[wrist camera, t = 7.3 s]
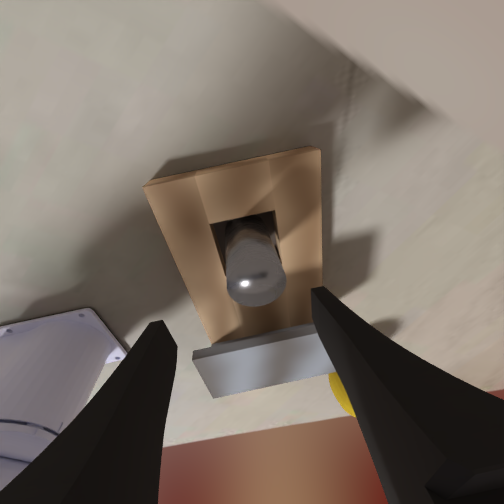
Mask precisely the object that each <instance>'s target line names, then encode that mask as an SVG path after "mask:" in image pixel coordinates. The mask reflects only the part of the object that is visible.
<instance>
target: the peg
mask: <svg viewBox="0 0 504 504" xmlns="http://www.w3.org/2000/svg"><path fill="white" fill-rule="evenodd" d="M225 254H226V283H227V291H228V294H229V296H230V297H231V298H232V299H233V300H234V301H235V302H237V303H239V304H241V305H244V306H249V307H258V306H263V305H266V304H269V303H271V302H273V301H274V300H276V299H277V298H278V297H279V296H280V295H281V294H282V293H283V291H284V289H285V287H286V282H287V279H286V275H285V272H284V269H283V267H282V264H281V262H280V259H279V257H278V254H277V252H276V250H275V247H274V245H273V242H272V240H271V237H270V235H269V232H268V230H267V227H266V225H265V222H264V221H263V219H262V218H261V217H259V216H258V215H256V214H254V215H249V216H245V217H240V218H235V219H231V220H229V221H228V223H227V225H226V227H225Z"/></svg>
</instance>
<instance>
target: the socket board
mask: <svg viewBox="0 0 504 504" xmlns="http://www.w3.org/2000/svg"><path fill="white" fill-rule="evenodd" d="M142 188H143V190H144V193H145V195H146V197H147V199H148V202H149V204H150V206H151V208H152V211H153V213H154V215H155V217H156V220H157V222H158V224H159V226H160V229H161V231H162V233H163V236H164V238H165V240H166V242H167V245H168V247H169V249H170V251H171V254H172V256H173V258H174V260H175V263H176V265H177V267H178V269H179V272H180V274H181V276H182V278H183V281H184V283H185V285H186V287H187V290H188V292H189V294H190V297H191V299H192V301H193V303H194V306H195V308H196V310H197V312H198V315H199V317H200V319H201V321H202V324H203V326H204V328H205V330H206V333H207V335H208V337H209V339H210V342H211V344H212V347H209V348H204V349H200V350H195V351H193V357H192V361H193V363H194V365H195V366H196V368H197V370H198V372H199V374H200V376H201V377H202V379H203V381H204V383H205V385H206V386H207V388H208V390H209V392H210V394H211V395H212V397H213V399H214V398H218V397H223V396H228V395H232V394H237V393H241V392H246V391H251V390H255V389H260V388H264V387H269V386H273V385H278V384H283V383H287V382H292V381H296V380H301V379H306V378H310V377H315V376H319V375H324V374H329V373H333V372H336V370H335V368H334V366H333V364H332V362H331V360H330V358H329V356H328V354H327V352H326V350H325V348H324V346H323V344H322V342H321V340H320V338H319V336H318V333H317V331H316V328H315V325H314V322H313V320H312V310H311V288H316V287H321V286H322V207H321V149H318V148H315V147H312V146H308V147H303V148H298V149H294V150H289V151H284V152H280V153H275V154H270V155H266V156H261V157H256V158H252V159H247V160H242V161H237V162H233V163H228V164H223V165H219V166H214V167H209V168H205V169H200V170H195V171H191V172H186V173H181V174H176V175H172V176H167V177H162V178H158V179H153V180H150V181H149V182H148V183H147V184H146V185H144V186H143V187H142ZM254 214H256V215H258V216H259V217H261V218H262V219H263V221H264V222H265V225H266V227H267V230H268V232H269V235H270V237H271V240H272V242H273V245H274V247H275V250H276V252H277V254H278V257H279V259H280V262H281V264H282V267H283V269H284V272H285V275H286V279H287V282H286V287H285V289H284V291H283V293H282V294H281V295H280V296H279V297H278V298H277V299H276V300H274V301H273V302H271V303H269V304H266V305H263V306H258V307H249V306H244V305H241V304H239V303H237V302H235V301H234V300H233V299H232V298H231V297H230V296H229V294H228V291H227V283H226V254H225V227H226V225H227V223H228V221H229V220H231V219H235V218H240V217H245V216H249V215H254Z"/></svg>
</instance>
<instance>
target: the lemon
mask: <svg viewBox="0 0 504 504" xmlns="http://www.w3.org/2000/svg"><path fill="white" fill-rule="evenodd" d="M329 382H330V386H331V389H332V391H333V393H334V395H335V397H336V399H337V400H338V402H339V403H340V405H341V406H342V408H343V409H344V410H345V411H346V412H347V413H349V414H350V415H352V416H354V417H356V415H355V413H354V410H353V408H352V405H351V403H350V400H349V398H348V395H347V393H346V391H345V389H344V386H343V384H342V382H341V380H340V378H339V376H338V374H337V372H333V373H329Z"/></svg>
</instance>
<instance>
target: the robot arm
mask: <svg viewBox="0 0 504 504" xmlns="http://www.w3.org/2000/svg"><path fill="white" fill-rule="evenodd" d="M311 310H312V320H313V322H314V325H315V328H316V331H317V333H318V336H319V338H320V340H321V342H322V344H323V346H324V348H325V350H326V352H327V354H328V356H329V358H330V360H331V362H332V364H333V366H334V368H335V370H336V372H337V374H338V376H339V378H340V380H341V382H342V384H343V386H344V389H345V391H346V393H347V395H348V398H349V400H350V403H351V405H352V408H353V410H354V413H355V415H356V418H357V420H358V423H359V425H360V428H361V431H362V433H363V436H364V438H365V441H366V443H367V446H368V449H369V452H370V454H371V457H372V459H373V462H374V465H375V468H376V470H377V473H378V476H379V479H380V481H381V484H382V487H383V490H384V492H385V495H386V498H387V501H388V504H504V400H503V399H500V398H498V397H496V396H494V395H491V394H489V393H487V392H485V391H483V390H481V389H478V388H476V387H474V386H472V385H470V384H468V383H466V382H464V381H462V380H460V379H458V378H456V377H454V376H452V375H451V374H449V373H447V372H445V371H443V370H441V369H440V368H438V367H436V366H434V365H432V364H430V363H429V362H427V361H425V360H423V359H421V358H420V357H418V356H416V355H415V354H413V353H411V352H410V351H408V350H406V349H405V348H403V347H402V346H400V345H398V344H397V343H395V342H394V341H392V340H391V339H389V338H388V337H386V336H385V335H383V334H382V333H381V332H379V331H378V330H376V329H375V328H374V327H372V326H371V325H370V324H368V323H367V322H366V321H364V320H363V319H362V318H360V317H359V316H358V315H357V314H355V313H354V312H353V311H352V310H350V309H349V308H348V307H347V306H346V305H345V304H343V303H342V302H341V301H340V300H339V299H338V298H336V297H335V296H334V295H333V294H332V293H331V292H330V291H329V290H328V289H327V288H325V287H324V286H321V287H316V288H311ZM177 347H178V346H177V344H176V343H175V341H174V339H173V337H172V336H171V334H170V332H169V330H168V328H167V327H166V325H165V323H164V321H163V320H160V321H155V322H150V323H149V325H148V326H147V327H146V329H145V330H144V331H143V333H142V334H141V336H140V337H139V338H138V340H137V341H136V343H135V344H134V345H133V347H132V348H131V350H130V351H129V352H128V353H127V352H126V351H125V350H124V348H123V347H122V346H121V345H120V343H119V342H118V341H117V339H116V338H115V337H114V336H113V334H112V333H111V332H110V331H109V329H108V328H107V327H106V326H105V324H104V323H103V322H102V321H101V319H100V318H99V317H98V316H97V314H96V313H95V312H94V311H93V310H92V309H90V308H84V309H79V310H75V311H70V312H65V313H61V314H56V315H51V316H47V317H42V318H38V319H33V320H28V321H24V322H19V323H14V324H10V325H5V326H0V504H158V491H159V490H158V489H159V478H160V466H161V456H162V447H163V437H164V430H165V423H166V418H167V413H168V408H169V402H170V397H171V392H172V387H173V382H174V377H175V371H176V363H177ZM119 360H122V362H121V363H120V364H119V366H118V367H117V368H116V370H115V371H114V372H113V373H112V375H111V376H110V377H109V378H108V380H107V381H106V382H105V383H104V385H103V386H102V387H101V388H100V390H99V391H98V392H97V393H96V395H95V396H94V397H93V398H92V399H91V400H90V402H89V403H88V404H87V405H86V403H87V400H88V398H89V396H90V394H91V392H92V390H93V388H94V386H95V383H96V381H97V379H98V377H99V375H100V373H101V371H102V369H103V366H104V364H105V363H110V362H115V361H119ZM85 405H86V406H85Z"/></svg>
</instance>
